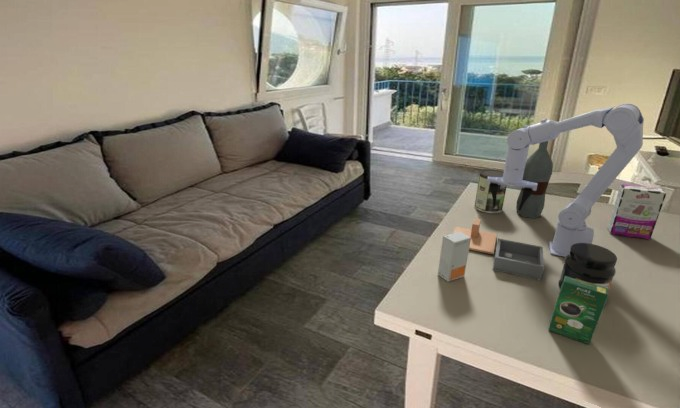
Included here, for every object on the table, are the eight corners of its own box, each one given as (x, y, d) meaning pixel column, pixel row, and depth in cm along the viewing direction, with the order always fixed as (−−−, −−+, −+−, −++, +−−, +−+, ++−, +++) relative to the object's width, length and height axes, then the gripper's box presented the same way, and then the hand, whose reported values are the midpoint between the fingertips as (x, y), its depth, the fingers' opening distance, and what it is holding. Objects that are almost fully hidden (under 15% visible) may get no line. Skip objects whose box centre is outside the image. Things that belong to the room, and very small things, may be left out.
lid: (496, 237, 122) (499, 221, 120) (493, 256, 111) (496, 239, 109) (455, 230, 127) (457, 214, 125) (448, 247, 116) (450, 230, 114)
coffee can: (505, 207, 145) (512, 172, 139) (497, 215, 137) (504, 179, 131) (479, 200, 150) (484, 167, 145) (470, 208, 143) (475, 173, 137)
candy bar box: (645, 233, 124) (662, 187, 118) (650, 240, 120) (668, 193, 114) (606, 228, 128) (620, 183, 122) (609, 234, 124) (624, 188, 118)
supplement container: (606, 312, 88) (621, 268, 83) (555, 297, 93) (567, 255, 88) (605, 289, 96) (618, 248, 91) (558, 276, 101) (569, 237, 96)
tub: (539, 258, 109) (542, 246, 108) (540, 280, 99) (544, 267, 98) (495, 249, 114) (498, 238, 113) (492, 269, 104) (495, 257, 102)
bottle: (511, 207, 144) (527, 130, 132) (536, 209, 143) (554, 131, 131) (518, 218, 135) (536, 135, 124) (545, 219, 134) (565, 137, 122)
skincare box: (448, 282, 98) (453, 242, 93) (437, 274, 102) (442, 235, 97) (465, 276, 101) (471, 237, 96) (454, 269, 104) (459, 230, 100)
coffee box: (591, 337, 80) (609, 286, 75) (591, 346, 78) (609, 294, 73) (549, 323, 84) (563, 274, 79) (547, 331, 82) (562, 280, 77)
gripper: (488, 167, 116) (482, 207, 121) (540, 174, 110) (531, 215, 116) (490, 161, 122) (484, 200, 127) (540, 167, 116) (531, 207, 122)
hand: (506, 207), depth 122 cm, fingers open, 7 cm apart
